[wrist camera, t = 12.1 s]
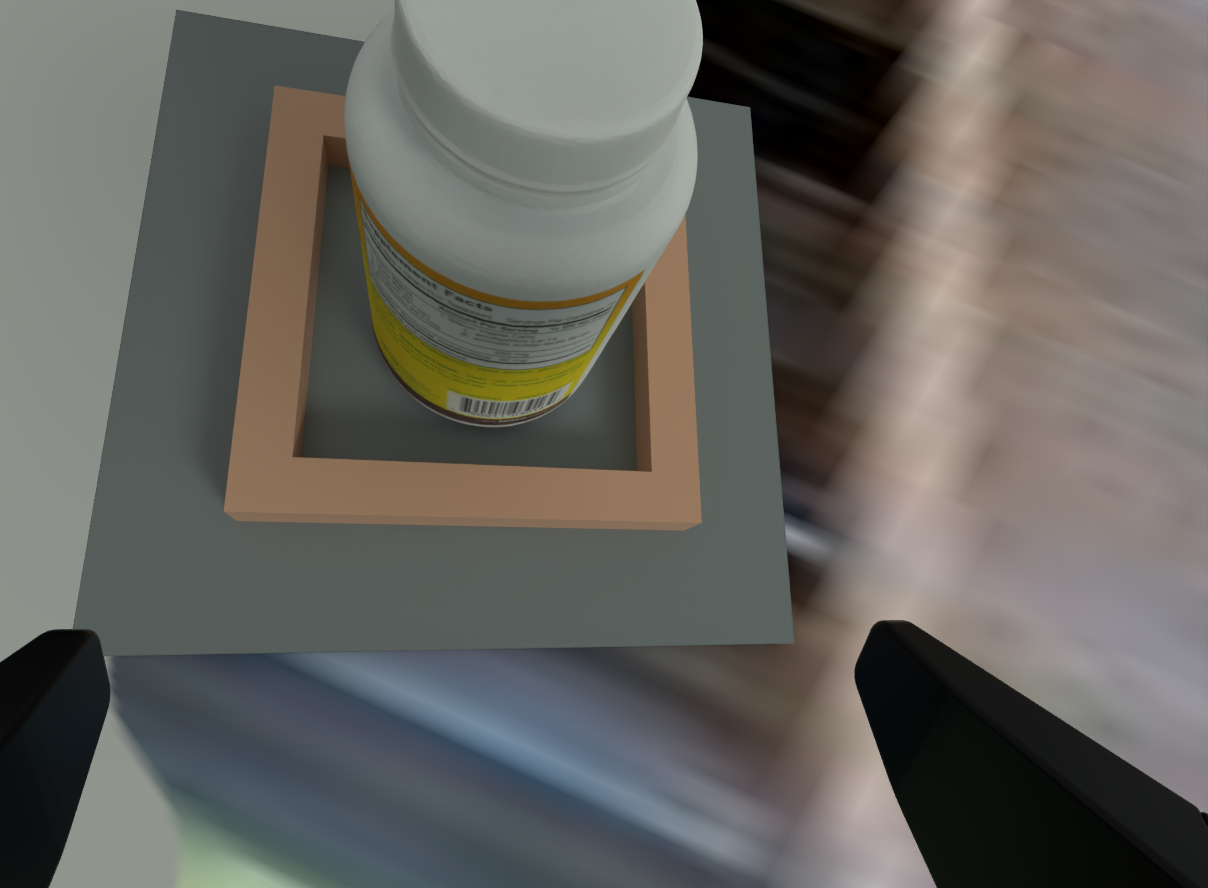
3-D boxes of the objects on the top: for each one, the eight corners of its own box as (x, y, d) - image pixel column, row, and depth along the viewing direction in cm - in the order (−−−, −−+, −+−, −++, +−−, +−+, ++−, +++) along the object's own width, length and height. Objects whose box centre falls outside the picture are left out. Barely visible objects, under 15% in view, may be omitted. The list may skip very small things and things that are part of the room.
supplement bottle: (486, 194, 20) (553, -233, 10) (634, 339, 20) (841, 46, 10) (321, 320, 18) (213, -62, 8) (485, 481, 18) (567, 285, 8)
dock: (779, 643, 19) (818, 642, 18) (84, 656, 16) (40, 657, 14) (739, 124, 24) (767, 79, 22) (185, 34, 20) (161, -31, 18)
